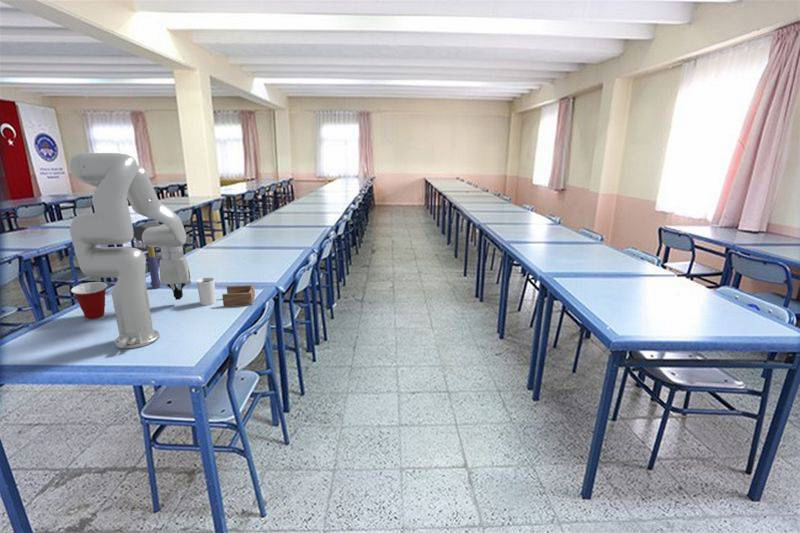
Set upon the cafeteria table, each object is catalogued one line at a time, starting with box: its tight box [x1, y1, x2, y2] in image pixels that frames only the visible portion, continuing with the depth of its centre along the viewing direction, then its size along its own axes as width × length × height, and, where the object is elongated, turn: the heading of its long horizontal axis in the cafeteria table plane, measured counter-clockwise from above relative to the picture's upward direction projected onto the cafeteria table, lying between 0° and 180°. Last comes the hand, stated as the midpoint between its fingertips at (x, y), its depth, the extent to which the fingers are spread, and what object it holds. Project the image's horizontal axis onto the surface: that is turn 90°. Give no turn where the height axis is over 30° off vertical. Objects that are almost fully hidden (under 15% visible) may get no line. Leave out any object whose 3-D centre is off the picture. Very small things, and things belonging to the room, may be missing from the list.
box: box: [222, 284, 256, 307], centre depth 173 cm, size 11×11×5 cm
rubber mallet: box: [133, 220, 162, 289], centre depth 184 cm, size 12×8×30 cm, turn 3°
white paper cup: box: [196, 277, 217, 306], centre depth 169 cm, size 7×7×10 cm
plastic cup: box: [70, 281, 108, 320], centre depth 153 cm, size 11×11×12 cm
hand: (178, 298), depth 168 cm, fingers closed
